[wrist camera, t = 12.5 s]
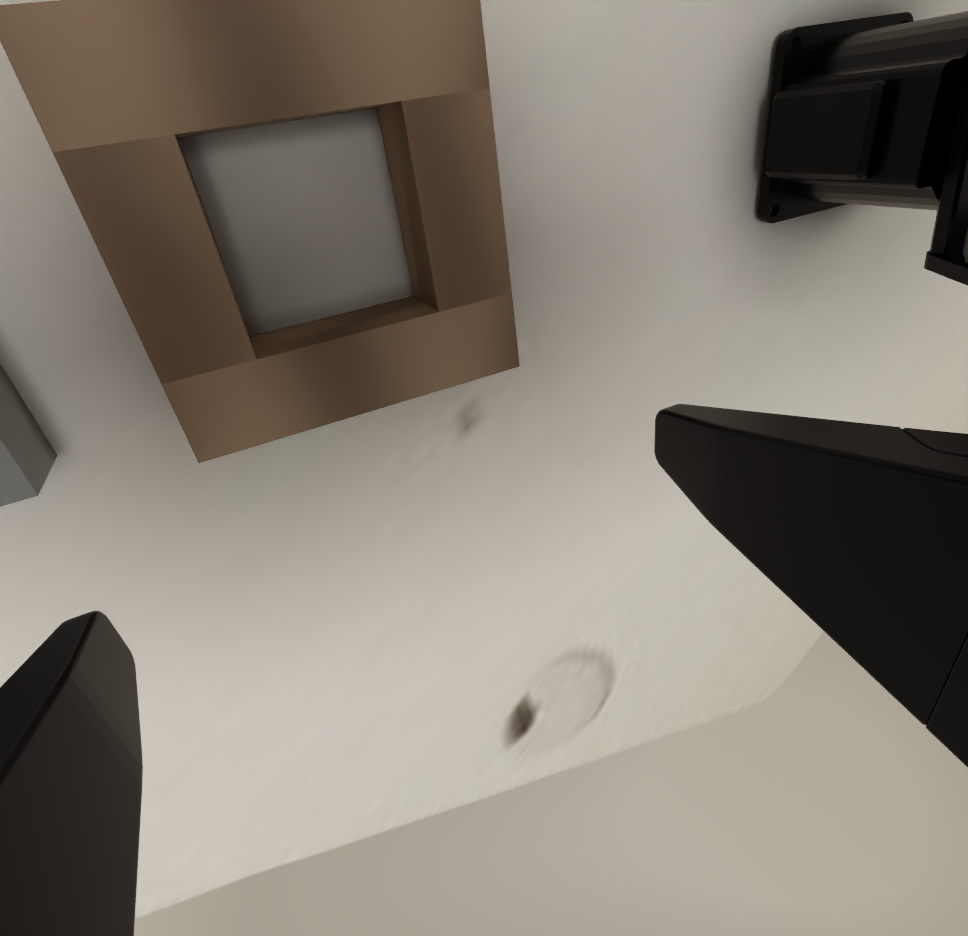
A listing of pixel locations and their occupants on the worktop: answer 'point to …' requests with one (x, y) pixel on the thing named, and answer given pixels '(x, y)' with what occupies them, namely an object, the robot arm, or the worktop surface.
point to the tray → (20, 448)
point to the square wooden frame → (263, 100)
